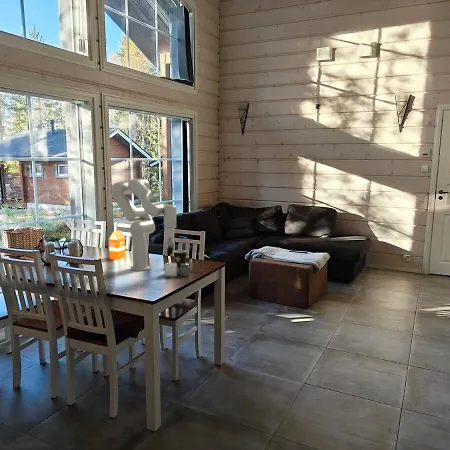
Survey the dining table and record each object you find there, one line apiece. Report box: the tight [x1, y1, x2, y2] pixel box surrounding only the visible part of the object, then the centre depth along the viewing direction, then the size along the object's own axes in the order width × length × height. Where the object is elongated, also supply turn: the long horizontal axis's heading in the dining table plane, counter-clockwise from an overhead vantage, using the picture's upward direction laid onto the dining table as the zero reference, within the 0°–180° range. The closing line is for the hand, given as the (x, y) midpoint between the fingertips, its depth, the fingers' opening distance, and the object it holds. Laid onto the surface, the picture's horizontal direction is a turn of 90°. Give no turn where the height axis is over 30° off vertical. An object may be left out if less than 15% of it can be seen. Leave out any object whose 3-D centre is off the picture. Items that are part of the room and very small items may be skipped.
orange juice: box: [108, 229, 126, 261], centre depth 296 cm, size 8×9×20 cm
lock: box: [164, 262, 178, 278], centre depth 253 cm, size 6×7×8 cm
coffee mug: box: [173, 249, 192, 268], centre depth 274 cm, size 12×9×10 cm
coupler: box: [177, 262, 190, 277], centre depth 254 cm, size 7×14×7 cm, turn 95°
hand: (170, 252), depth 252 cm, fingers open, 9 cm apart
